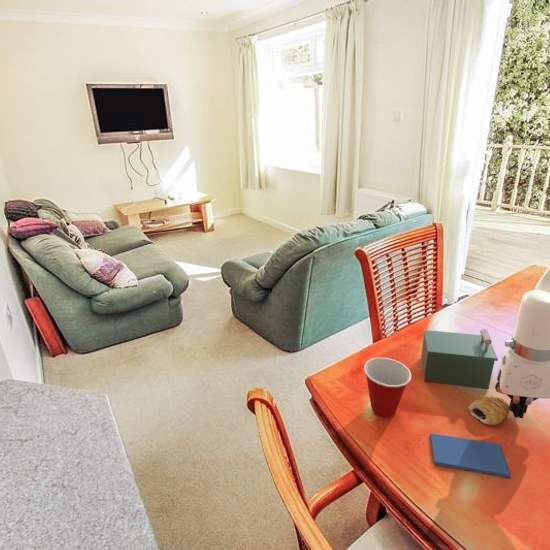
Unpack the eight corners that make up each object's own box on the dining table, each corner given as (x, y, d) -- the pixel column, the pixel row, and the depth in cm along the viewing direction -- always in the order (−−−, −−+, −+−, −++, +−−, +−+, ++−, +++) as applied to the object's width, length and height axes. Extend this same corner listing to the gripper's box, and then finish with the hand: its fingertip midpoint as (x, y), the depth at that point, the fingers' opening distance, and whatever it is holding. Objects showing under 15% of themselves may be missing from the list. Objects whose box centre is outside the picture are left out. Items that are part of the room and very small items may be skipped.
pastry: (491, 398, 93) (494, 386, 92) (517, 416, 88) (520, 403, 86) (464, 411, 90) (467, 399, 88) (490, 430, 84) (493, 418, 83)
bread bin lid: (487, 338, 102) (490, 324, 100) (497, 361, 93) (500, 346, 91) (424, 332, 106) (425, 318, 105) (427, 354, 97) (429, 339, 95)
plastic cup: (415, 422, 88) (421, 381, 83) (372, 429, 86) (374, 388, 82) (395, 391, 98) (398, 353, 93) (355, 397, 96) (357, 359, 92)
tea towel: (499, 445, 80) (500, 442, 80) (510, 478, 73) (511, 475, 73) (430, 434, 84) (430, 431, 84) (434, 464, 77) (434, 461, 77)
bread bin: (479, 364, 106) (484, 337, 102) (488, 389, 96) (494, 361, 93) (421, 358, 110) (424, 332, 106) (424, 381, 101) (427, 354, 97)
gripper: (497, 354, 78) (484, 421, 85) (582, 361, 74) (560, 430, 81) (489, 335, 85) (477, 398, 92) (566, 340, 81) (547, 406, 88)
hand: (516, 413), depth 87 cm, fingers closed
